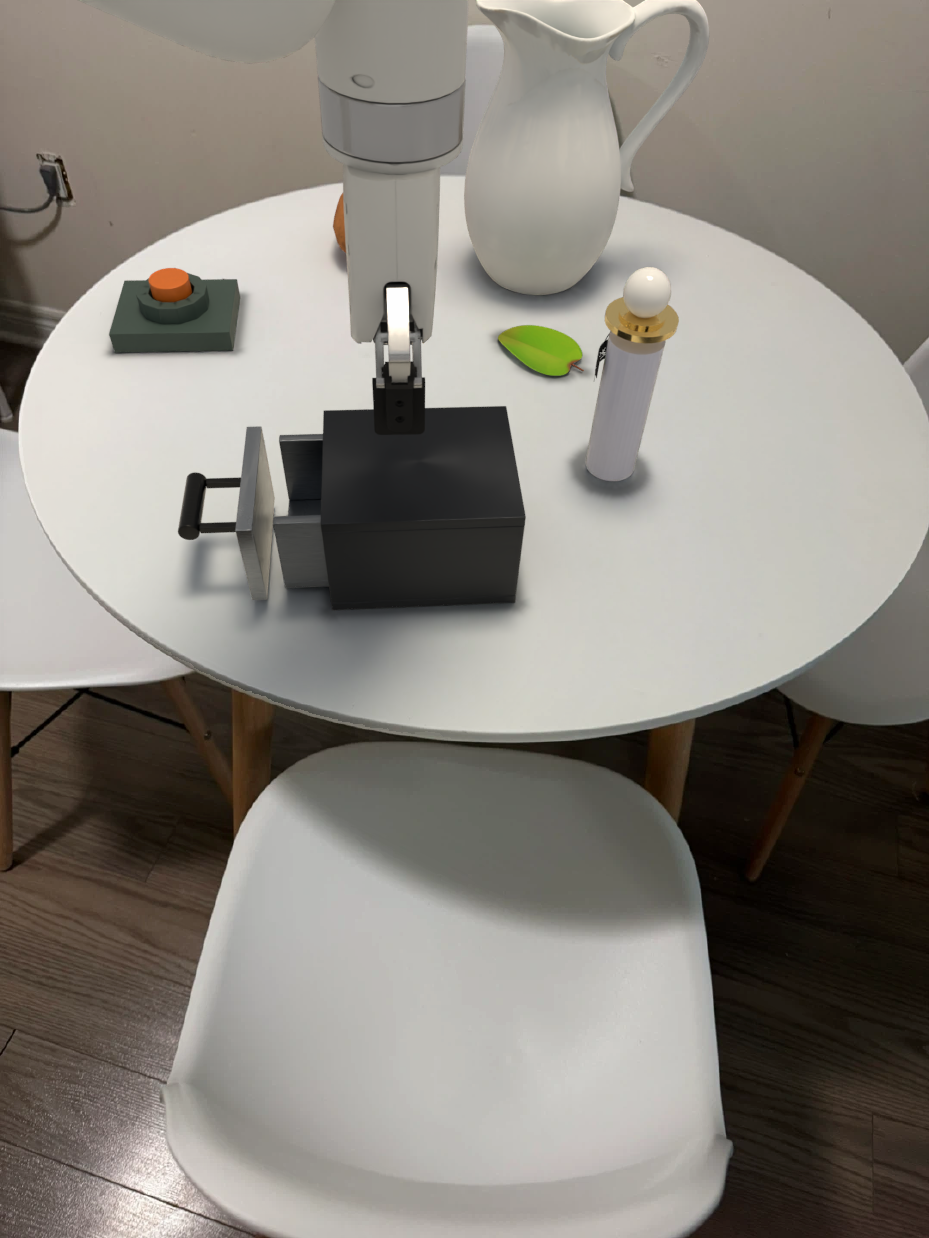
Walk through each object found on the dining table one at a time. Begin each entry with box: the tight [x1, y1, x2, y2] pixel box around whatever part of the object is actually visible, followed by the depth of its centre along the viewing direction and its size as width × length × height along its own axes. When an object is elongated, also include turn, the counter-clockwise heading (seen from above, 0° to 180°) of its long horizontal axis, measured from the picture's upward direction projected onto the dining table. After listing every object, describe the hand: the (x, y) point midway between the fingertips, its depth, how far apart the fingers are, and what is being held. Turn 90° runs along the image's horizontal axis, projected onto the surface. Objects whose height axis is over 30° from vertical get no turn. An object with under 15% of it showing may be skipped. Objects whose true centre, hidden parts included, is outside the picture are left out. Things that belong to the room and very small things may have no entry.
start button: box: [148, 267, 192, 302], centre depth 90 cm, size 4×4×2 cm
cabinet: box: [321, 405, 527, 611], centre depth 71 cm, size 15×13×10 cm
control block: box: [108, 272, 241, 354], centre depth 92 cm, size 12×10×4 cm
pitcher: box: [463, 0, 710, 296], centre depth 92 cm, size 24×17×28 cm
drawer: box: [177, 425, 329, 601], centre depth 70 cm, size 19×12×8 cm, turn 95°
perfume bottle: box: [584, 266, 680, 482], centre depth 74 cm, size 6×6×20 cm
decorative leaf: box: [497, 324, 585, 377], centre depth 92 cm, size 8×9×1 cm
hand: (397, 385), depth 59 cm, fingers open, 9 cm apart
